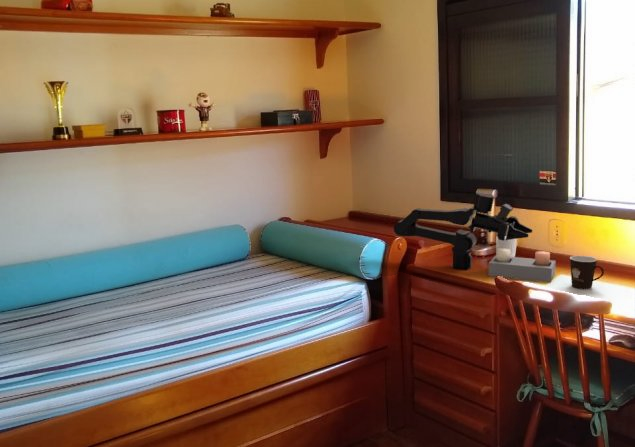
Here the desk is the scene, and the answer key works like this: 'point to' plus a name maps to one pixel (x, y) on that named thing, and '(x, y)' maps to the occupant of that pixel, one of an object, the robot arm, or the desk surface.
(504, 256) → the white short cylinder
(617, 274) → the desk surface
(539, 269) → the grey rectangular block
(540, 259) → the terracotta button
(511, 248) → the white cup
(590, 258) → the coffee mug
